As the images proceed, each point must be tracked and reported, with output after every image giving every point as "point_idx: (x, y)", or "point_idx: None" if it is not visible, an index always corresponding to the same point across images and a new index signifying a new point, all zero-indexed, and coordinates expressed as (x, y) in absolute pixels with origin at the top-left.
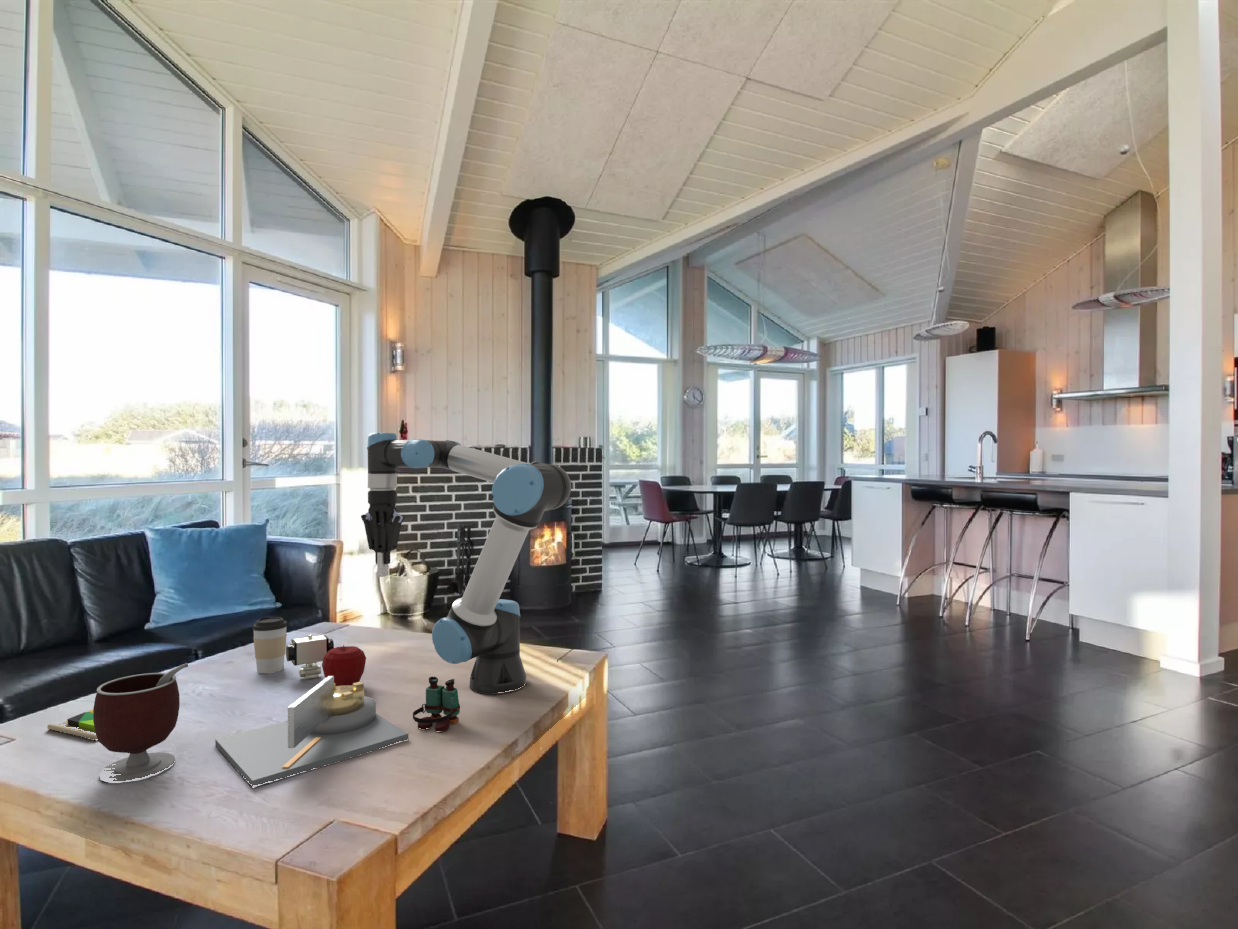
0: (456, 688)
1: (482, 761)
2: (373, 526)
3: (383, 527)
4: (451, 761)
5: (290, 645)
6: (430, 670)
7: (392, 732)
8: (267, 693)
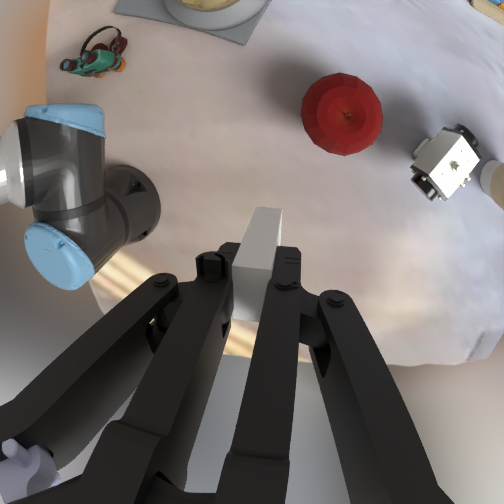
0: (67, 71)
1: (47, 33)
2: (284, 462)
3: (138, 427)
4: (65, 16)
5: (470, 138)
6: None
7: (130, 3)
8: (433, 73)
